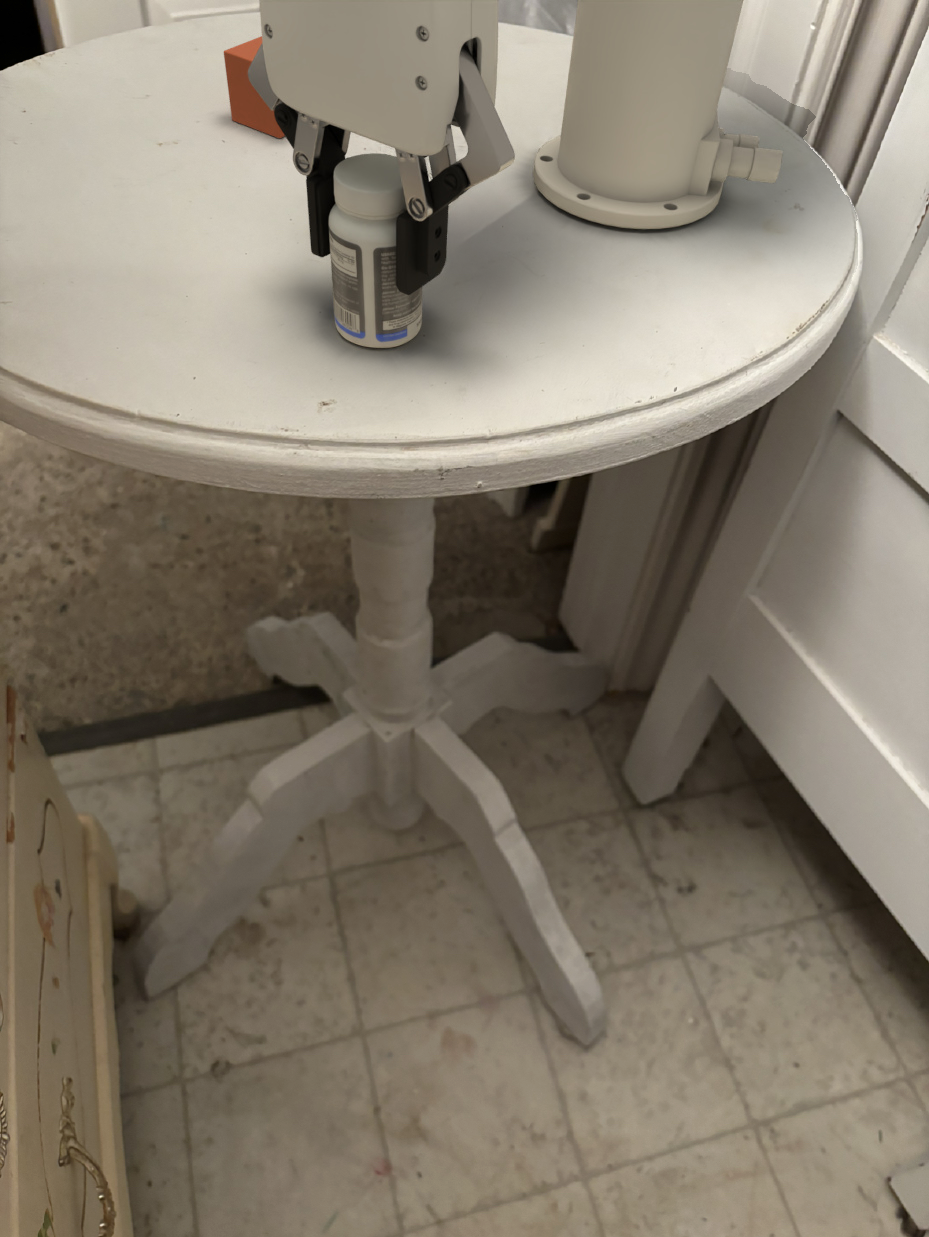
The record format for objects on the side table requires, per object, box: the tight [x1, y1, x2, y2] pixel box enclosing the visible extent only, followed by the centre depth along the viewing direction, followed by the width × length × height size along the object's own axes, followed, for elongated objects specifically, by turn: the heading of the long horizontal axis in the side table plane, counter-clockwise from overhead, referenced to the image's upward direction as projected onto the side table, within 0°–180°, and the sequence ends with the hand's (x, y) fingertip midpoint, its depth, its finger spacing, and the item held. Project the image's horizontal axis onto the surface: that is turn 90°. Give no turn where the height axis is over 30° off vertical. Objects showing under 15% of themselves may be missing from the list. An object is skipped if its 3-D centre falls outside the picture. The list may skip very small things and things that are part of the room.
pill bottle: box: [328, 152, 424, 349], centre depth 49 cm, size 5×5×8 cm
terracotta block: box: [223, 35, 285, 139], centre depth 66 cm, size 4×4×4 cm
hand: (377, 260), depth 49 cm, fingers closed on pill bottle, 4 cm apart
